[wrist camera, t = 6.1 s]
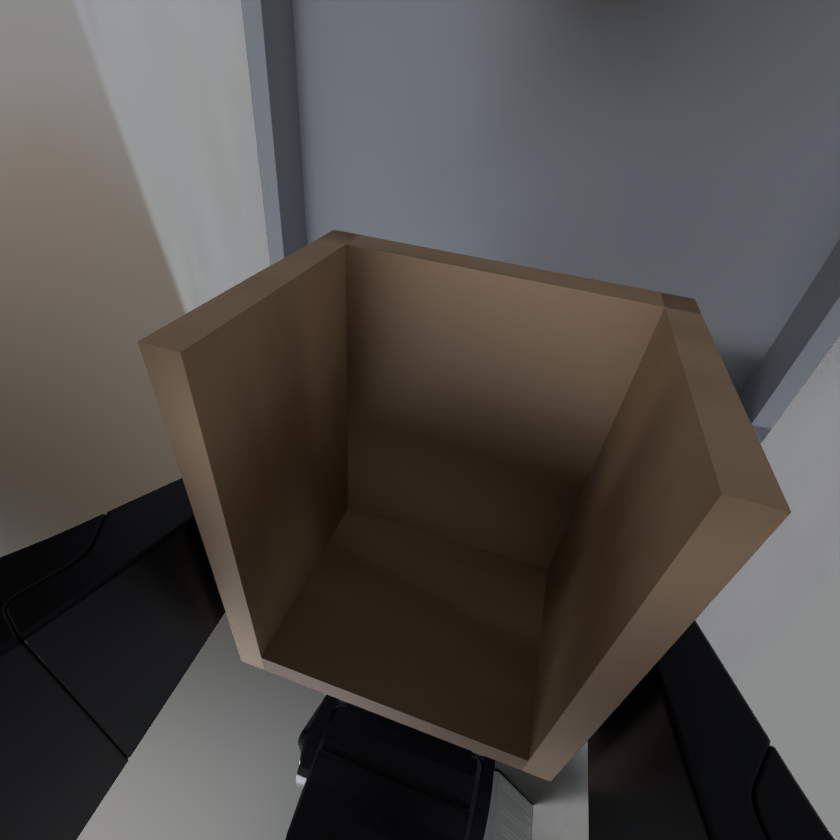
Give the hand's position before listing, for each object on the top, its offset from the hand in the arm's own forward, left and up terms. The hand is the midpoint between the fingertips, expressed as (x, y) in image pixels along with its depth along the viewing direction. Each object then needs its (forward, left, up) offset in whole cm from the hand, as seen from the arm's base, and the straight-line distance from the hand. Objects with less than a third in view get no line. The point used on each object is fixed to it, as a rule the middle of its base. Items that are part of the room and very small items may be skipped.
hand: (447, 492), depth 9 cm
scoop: (+1, 0, -2) cm, 2 cm away
